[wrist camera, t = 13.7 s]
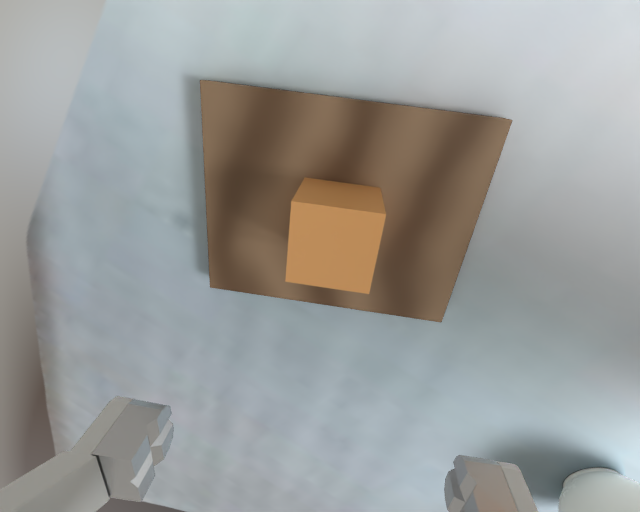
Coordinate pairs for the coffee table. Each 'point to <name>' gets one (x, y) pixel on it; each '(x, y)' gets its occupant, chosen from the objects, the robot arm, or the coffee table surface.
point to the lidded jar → (599, 492)
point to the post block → (347, 167)
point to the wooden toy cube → (334, 235)
